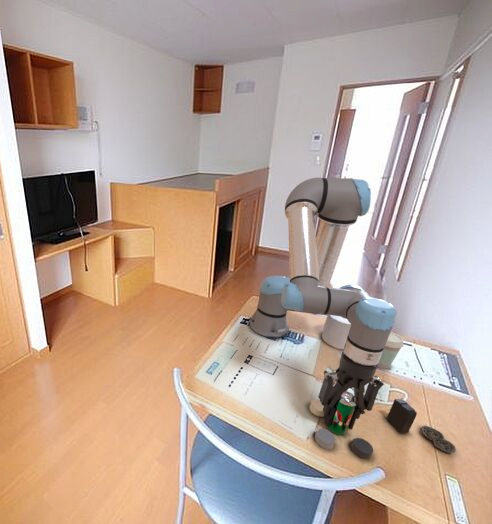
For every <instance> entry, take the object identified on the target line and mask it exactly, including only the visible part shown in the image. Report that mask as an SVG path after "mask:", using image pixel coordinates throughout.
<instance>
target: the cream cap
mask: <svg viewBox="0 0 492 524" xmlns="http://www.w3.org/2000/svg"><path fill="white" fill-rule="evenodd" d="M323 407H324V406H323V405H322V404H321V402H320V400H319V399H312V400H311V401H310V404H309V411H310V412H311V414H313V415H315V416H317V417H321V418H323V417H324V412H323Z"/></svg>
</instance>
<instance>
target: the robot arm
mask: <svg viewBox="0 0 492 524" xmlns="http://www.w3.org/2000/svg"><path fill="white" fill-rule="evenodd" d="M371 203H372V191H371V187H370V184H369V182H368V181H366V180H364V179H358V178H352V177H349V178H345V177H341V178H340V177H312V178H308V179H306V180H303V181H302V182H300V183H298V184H297V185H296V186H295V187H294V188H293V189H292V190H291V191H290V193H289V195H288V196H287V198H286V201H285V205H284V216H285V217H286V219H287V221H288V255H289V256H288V259H289V264H288V265H289V276H287V277H286V276H285V275H270V276H267V277H265V278H264V279H263V280H262V281H261V283H260V287H259V295H258V300H257V306H256V310H255V312H254V313H253V314H252V317H250V318H249V317H248V318H247V321H249V327H250V328H251V330H252V331H253V332H255V333H256V334H258V335H260V336H263V337H265V338H269V339H282V338H284V337H286V336H287V335H288V332H289V325H288V319H287V314H288V312H296V313H303V314H304V313H305V314H312V315H319V316H320V315H321V316H324V315H326V316H327V315H333V316H341V317H346V318H347V320H348V321H349V322H350V324H351V327H350V330H349V334H348V336H347V340H346V343H345V346H344V349H343V350H342V353H341V356H340V358H339V363H338V364H339V365H338V367H337V368H336V370H335V371H331V372H330V371H329V370H324V371H323V376H324V377H323V381H322V385H321V387H320V391H319V393H318V400H320V402H321V404H322V405H323V406H324V407H323V412H324V416H323V417H322V419H323V421H324V424H325V426H326V427H327V426H328V427H330V424H331V421H332V418H333V415H334V412H335V408H334V405H335V404H336V402H337V401H338V399H339V398H340V397H341V395H342V394H343V393H344V391H348V390H349V389H353V395H354V396H355V397H356V402H357V405H356V408H355V411H354V413H353V416H352V419H351V422H350V424H349V427H348V430H351V431H352V430H353V428H354V426H355V423H356V420H359V419H360V418H361V415H364V414H366V411H368V412H371V411H372V410H373V407H374V404H375V401H376V399H377V396H378V393H379V391H380V389H381V388H382V387H383V386H384V382H383V381H382V379H381V378H380V377H379V376H378V375H376V373H377V368H378V367H377V366H378V363H379V360H380V358H381V355H382V352H383V349H384V347H385V345H386V342H387V340H388V337H389V335H390V332H392V330H393V328H394V325H395V320H396V316H397V314H398V313H397V309H396V307H395V306H394V305H393V304H391V303H389V302H387V301H386V300H383V299H380V298H376V297H371V296H370V294H369V293H368V292H367V291H365V290H364V289H363V288H362V287H361V286H359V285H355V284H346V285H341V286H340V287H339V288H335V287H334V285H333V283H332V282H331V280H332V278H333V274H334V272H335V269H336V267H337V264H338V260H339V257H340V254H341V252H342V248H343V246H344V243H345V239H346V237H347V233H348V231H349V228H350V226H352V225H354V224H356V223H357V220H358V218H359V217H363V216H366V215H367V213H368V212H369V211H370V207H371ZM316 215H317V218H318V220H320V224H319V228H318V231H317V232H316V220H315V217H316ZM316 233H317V234H316ZM337 378H338V379H337ZM335 381H336V384H335V385H334V383H335ZM333 385H334V387H333V388H332V386H333ZM365 386H366V387H365ZM365 388H366V390H365ZM331 389H332V390H331ZM328 427H327V428H328Z"/></svg>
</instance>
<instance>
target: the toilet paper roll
mask: <svg viewBox="0 0 492 524" xmlns="http://www.w3.org/2000/svg"><path fill="white" fill-rule="evenodd" d="M350 327H351V324H350V322H349V321H348V320H347V318H346V317H341V316H333V315H326V319H325V322H324V325H323V330H322V333H321V334H322V335H321V339H322V341H324V342H325V343H326V344H327V345H329V346H331V347H333V348H335V349H337V350H342V351H343V349H344V346H345V343H346V340H347V336H348V334H349V330H350Z"/></svg>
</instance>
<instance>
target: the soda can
mask: <svg viewBox="0 0 492 524" xmlns="http://www.w3.org/2000/svg"><path fill="white" fill-rule="evenodd" d="M356 405H357V402H356V397H355V396H354V393H352V392H350V391H348V390H347V391H344V393H343V394H342V395H341V397H340V398H339V399H338V401H337V402H336V404H335V405H334V408H335V412H334V415H333V418H332V421H331V424H330V427H328V426H326V427H327V428H328V430H329V431H330V432H331V433H332V434H335V435H339V436H344V435H346V434H347V432H348V430H349V428H348V427H349V424H350V422H351V419H352V416H353V413H354V411H355V408H356Z"/></svg>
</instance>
